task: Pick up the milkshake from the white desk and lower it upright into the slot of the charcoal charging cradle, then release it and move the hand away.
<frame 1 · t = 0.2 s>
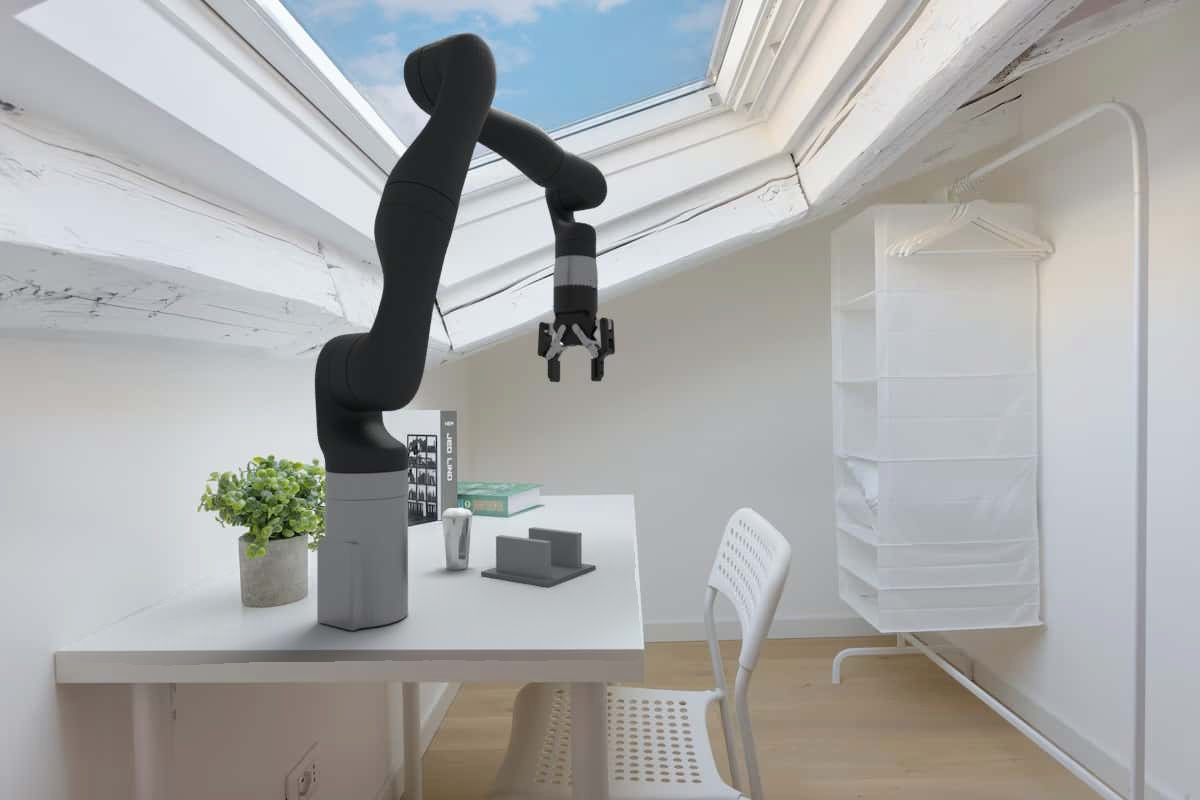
hand: (575, 381, 121), 29 cm above the table, tool pointing down, fingers open, 8 cm apart
milkshake: (460, 569, 108), on the table
cradle: (539, 572, 105), on the table
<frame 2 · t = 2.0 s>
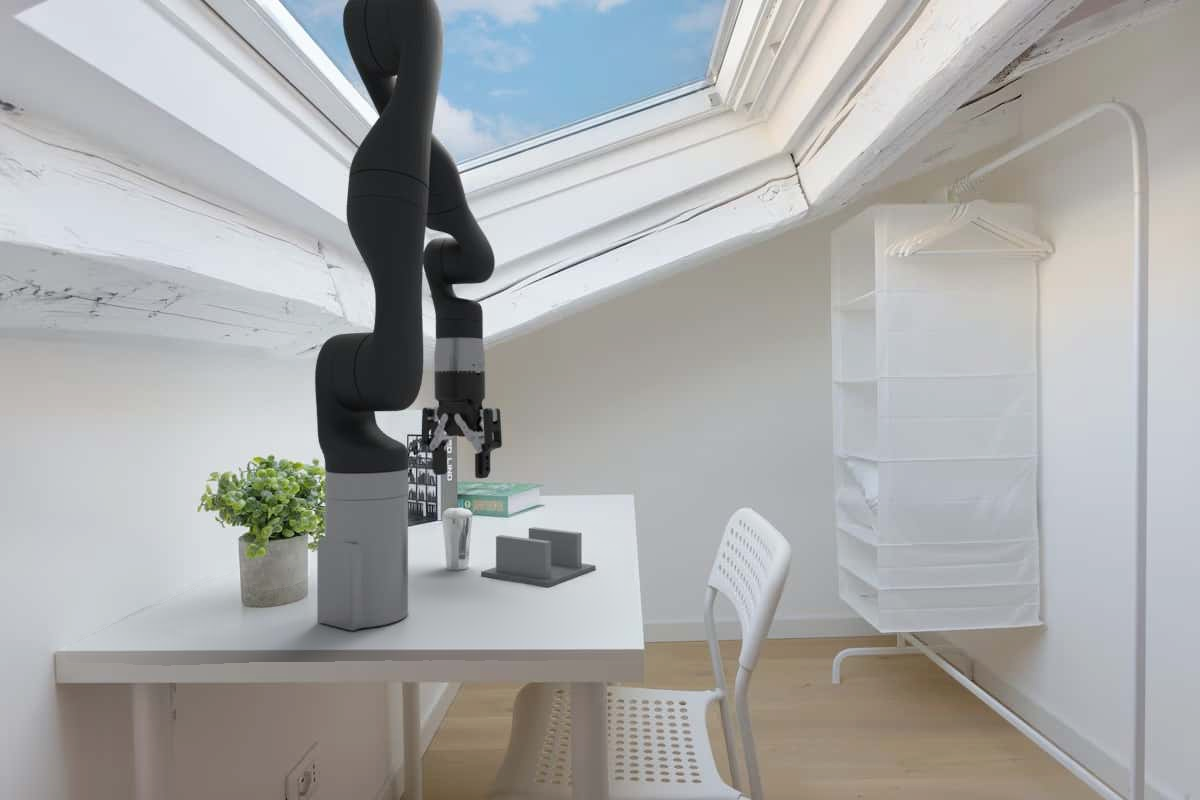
hand: (460, 476, 108), 14 cm above the table, tool pointing down, fingers open, 8 cm apart
nothing on the table moved.
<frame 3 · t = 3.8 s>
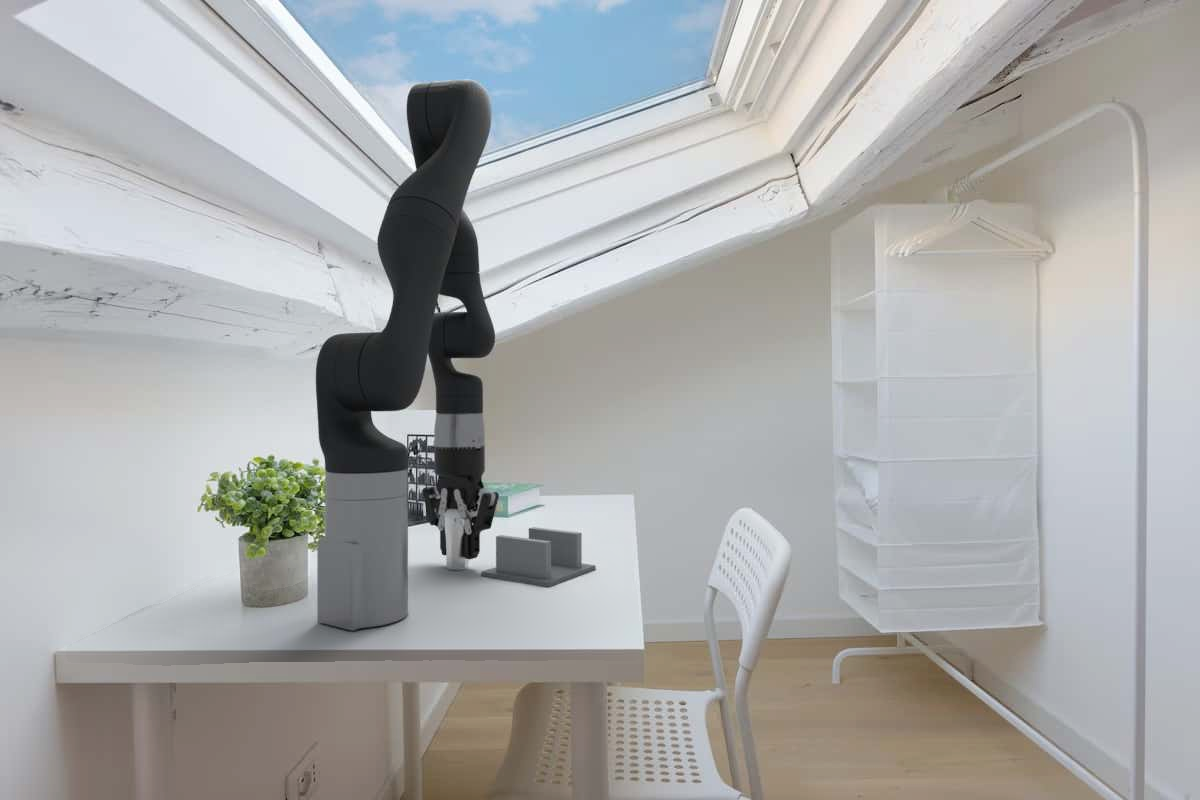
hand: (459, 555, 108), 2 cm above the table, tool pointing down, fingers closed on milkshake, 4 cm apart
milkshake: (459, 568, 108), on the table, touching gripper
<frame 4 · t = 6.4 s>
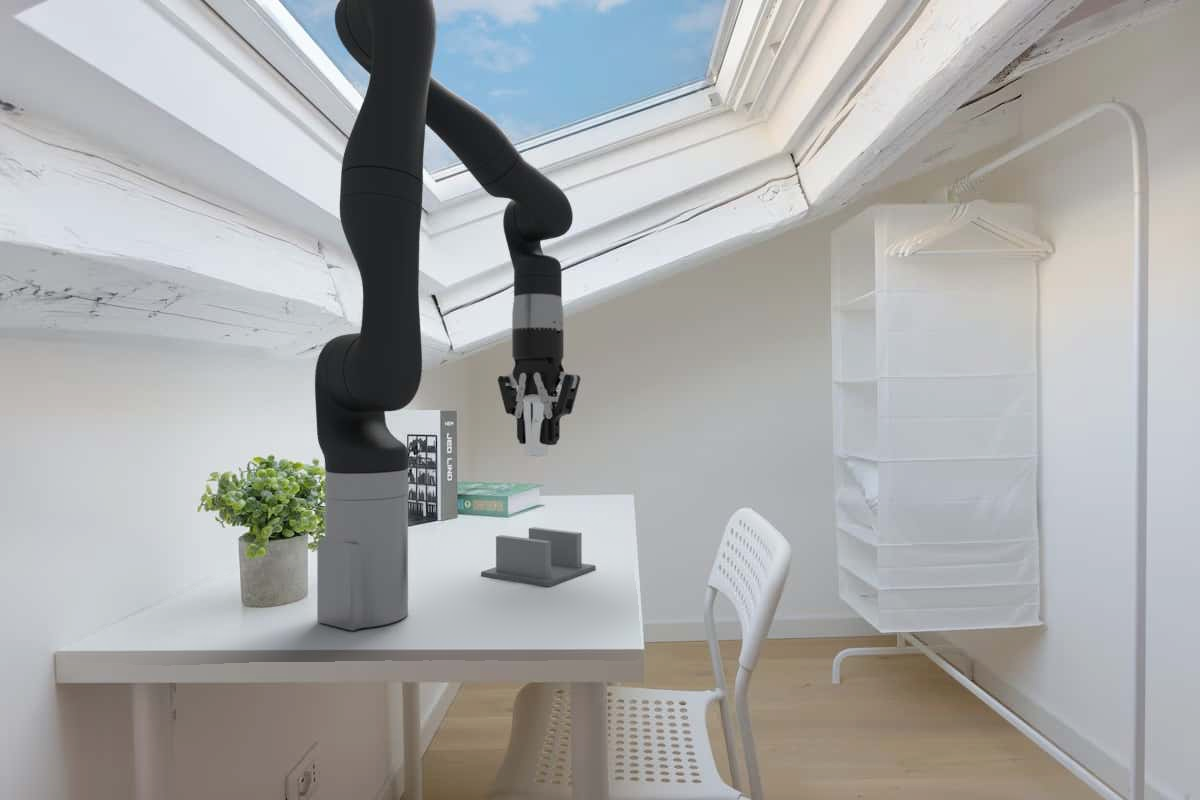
hand: (538, 443, 105), 19 cm above the table, tool pointing down, fingers closed on milkshake, 4 cm apart
milkshake: (538, 457, 105), point 17 cm above the table, touching gripper
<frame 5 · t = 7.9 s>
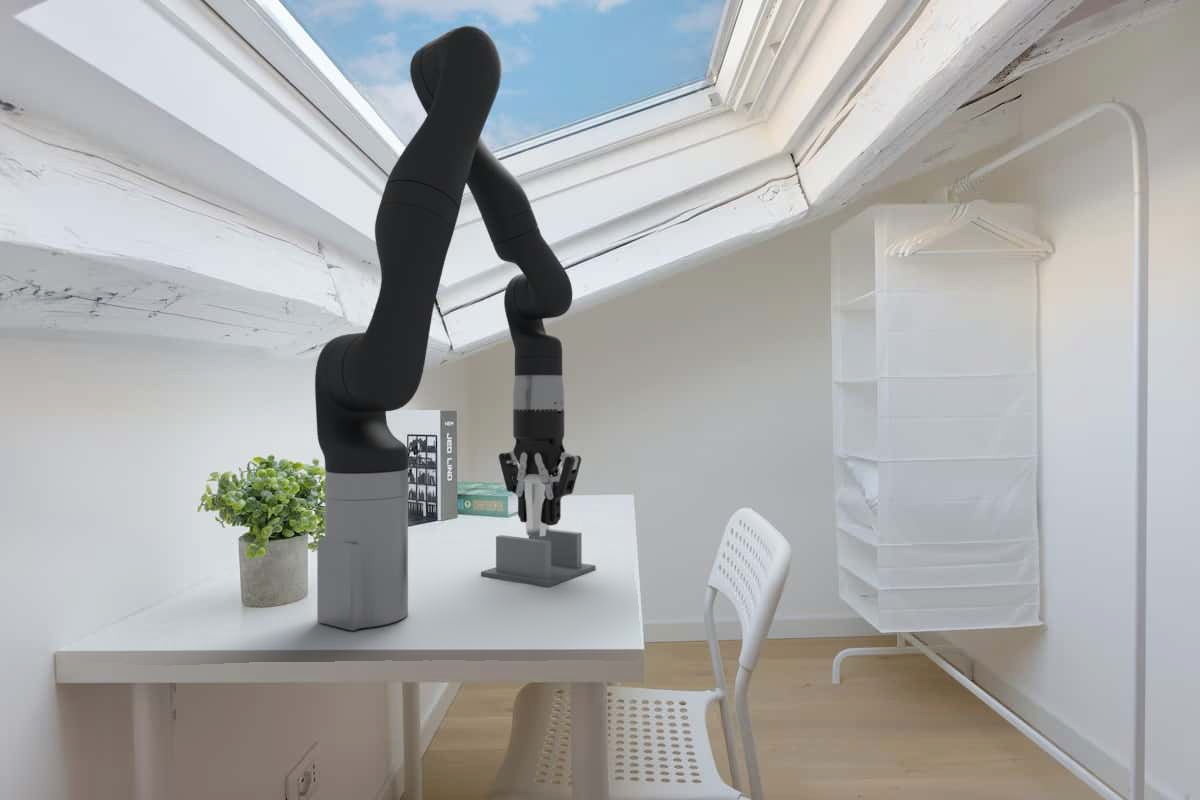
hand: (539, 522, 105), 7 cm above the table, tool pointing down, fingers closed on milkshake, 4 cm apart
milkshake: (539, 536, 105), point 5 cm above the table, touching gripper
when the fingers open (3 cm above the table, at t = 9.0 s): milkshake stays where it is, resting on cradle.
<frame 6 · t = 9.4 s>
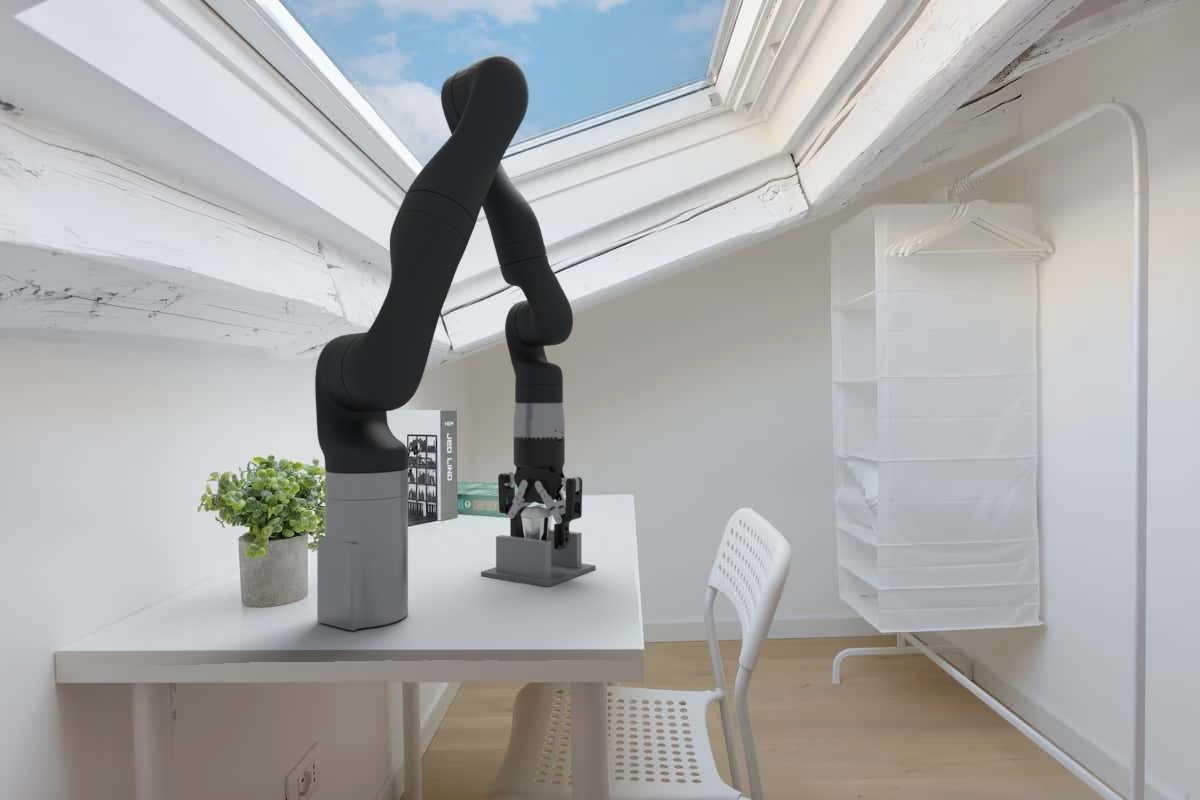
hand: (539, 545, 105), 4 cm above the table, tool pointing down, fingers open, 7 cm apart
milkshake: (540, 569, 104), resting on cradle
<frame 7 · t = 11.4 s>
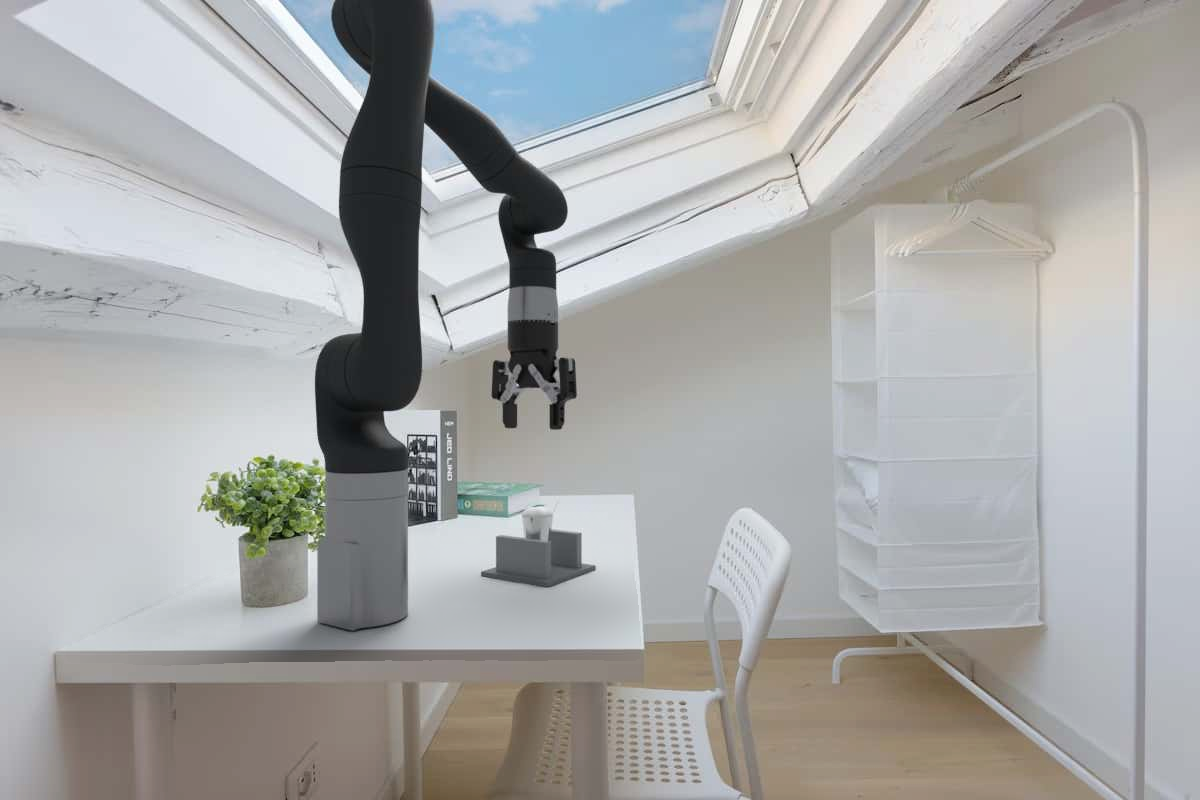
hand: (533, 428, 106), 21 cm above the table, tool pointing down, fingers open, 8 cm apart
nothing on the table moved.
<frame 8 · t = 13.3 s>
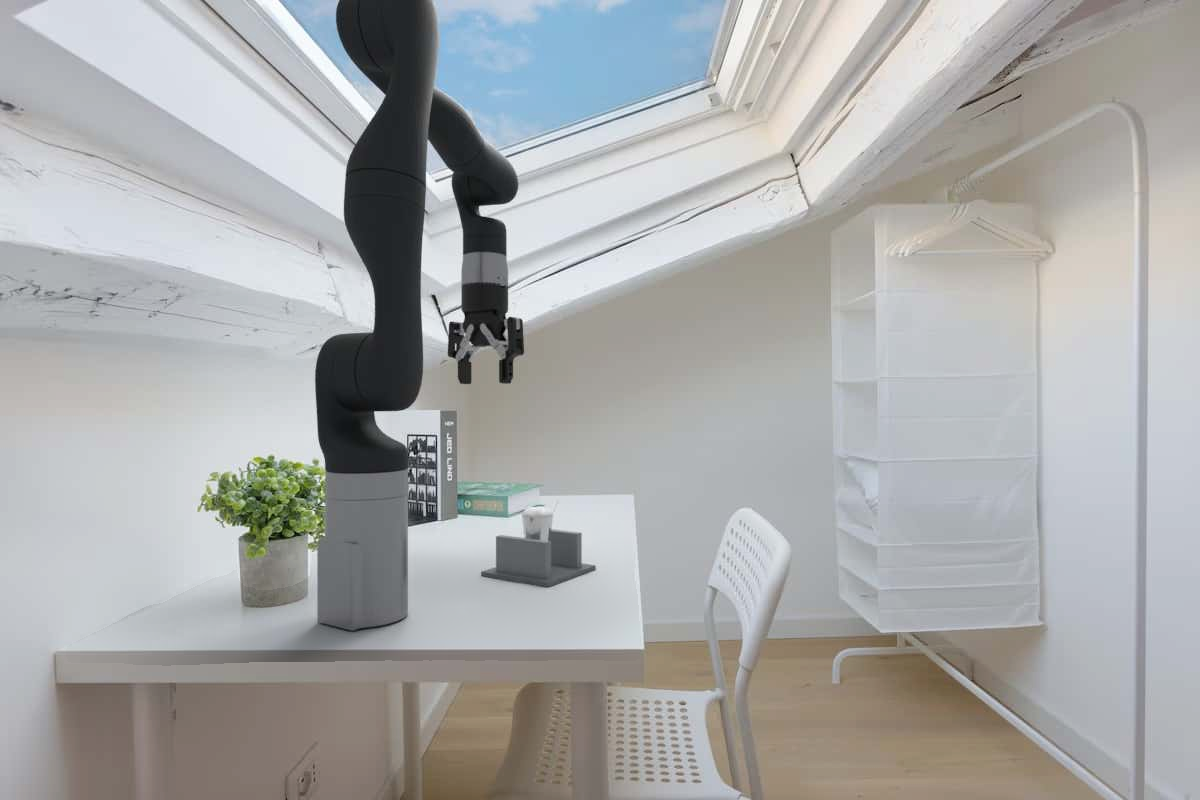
hand: (485, 383, 116), 28 cm above the table, tool pointing down, fingers open, 8 cm apart
nothing on the table moved.
at the end: milkshake 0.3 cm off-centre on the cradle, point 0.4 cm above the cradle's base; milkshake tilted 0°; the gripper is holding nothing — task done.
